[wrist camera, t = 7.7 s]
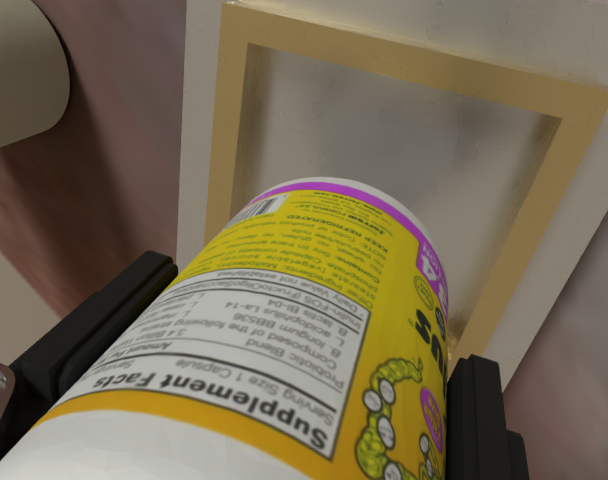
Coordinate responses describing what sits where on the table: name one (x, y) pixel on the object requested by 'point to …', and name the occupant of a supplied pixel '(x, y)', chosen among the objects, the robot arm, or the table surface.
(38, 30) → the travel mug
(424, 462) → the supplement bottle
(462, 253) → the white gold-rimmed box
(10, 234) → the table surface
